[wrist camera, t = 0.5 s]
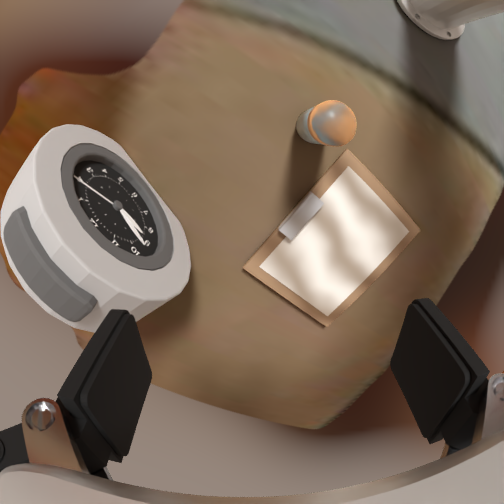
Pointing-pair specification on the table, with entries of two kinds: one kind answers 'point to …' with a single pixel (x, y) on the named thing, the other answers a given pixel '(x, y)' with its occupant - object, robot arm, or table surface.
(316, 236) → the clipboard
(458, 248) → the table surface
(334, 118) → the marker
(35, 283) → the alarm clock
